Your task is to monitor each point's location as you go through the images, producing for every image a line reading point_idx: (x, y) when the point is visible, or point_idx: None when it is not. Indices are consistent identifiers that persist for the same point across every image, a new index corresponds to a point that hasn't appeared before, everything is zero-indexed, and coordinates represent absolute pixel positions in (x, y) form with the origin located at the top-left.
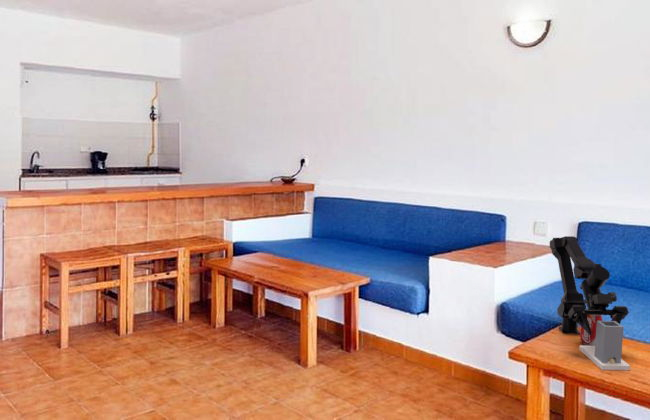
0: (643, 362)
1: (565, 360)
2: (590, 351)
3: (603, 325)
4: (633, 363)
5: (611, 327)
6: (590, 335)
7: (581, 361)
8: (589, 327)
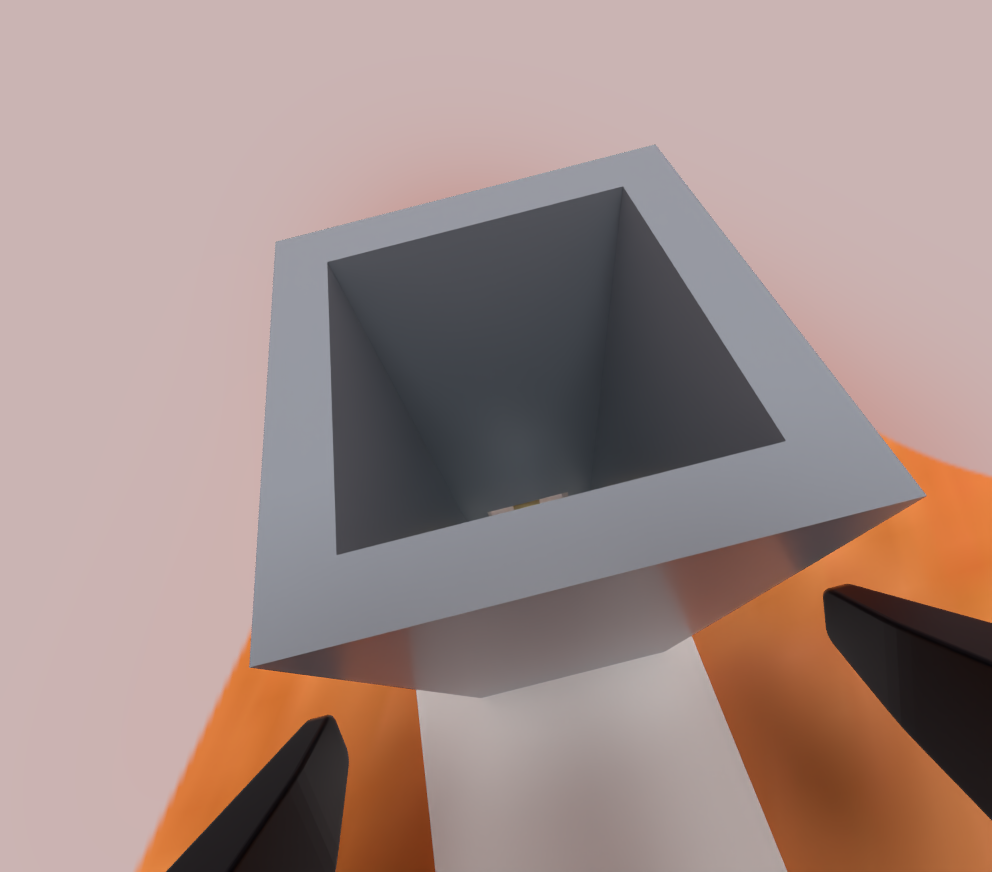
0: (209, 735)
1: (925, 571)
2: (711, 822)
3: (685, 186)
4: (313, 677)
5: (522, 198)
6: (832, 625)
7: (773, 589)
8: (984, 651)
